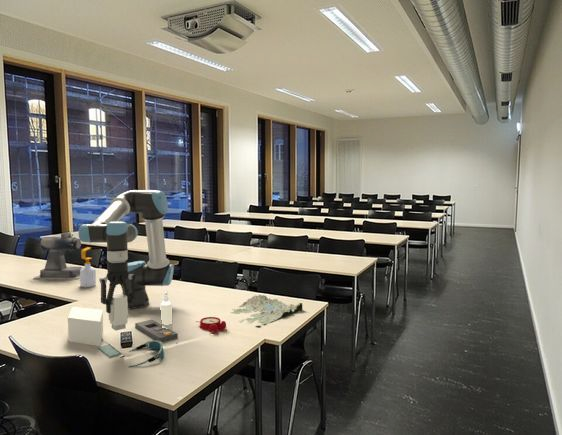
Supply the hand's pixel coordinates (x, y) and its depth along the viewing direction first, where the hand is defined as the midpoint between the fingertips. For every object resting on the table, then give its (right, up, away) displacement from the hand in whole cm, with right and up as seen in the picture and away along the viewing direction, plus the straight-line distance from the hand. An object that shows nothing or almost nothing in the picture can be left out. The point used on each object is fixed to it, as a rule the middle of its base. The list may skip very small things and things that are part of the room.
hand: (118, 318), depth 166 cm
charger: (0, -4, 0) cm, 4 cm away
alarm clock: (+33, -11, +25) cm, 43 cm away
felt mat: (0, -12, +1) cm, 12 cm away
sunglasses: (+12, -14, -7) cm, 20 cm away
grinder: (-89, -1, +127) cm, 155 cm away
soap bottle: (-59, -4, +102) cm, 118 cm away
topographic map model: (+53, -10, +51) cm, 74 cm away
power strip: (+8, -11, +19) cm, 23 cm away
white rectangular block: (-19, -11, +14) cm, 26 cm away
